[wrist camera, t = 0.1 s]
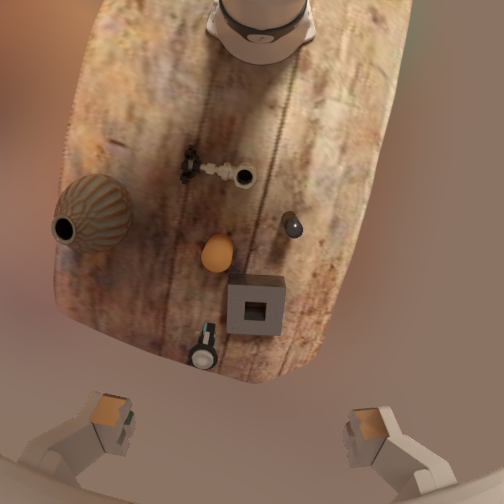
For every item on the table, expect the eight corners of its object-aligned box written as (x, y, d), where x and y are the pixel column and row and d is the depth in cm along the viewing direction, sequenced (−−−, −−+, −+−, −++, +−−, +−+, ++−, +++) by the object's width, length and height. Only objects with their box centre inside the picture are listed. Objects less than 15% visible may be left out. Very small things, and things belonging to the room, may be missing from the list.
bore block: (229, 273, 60) (227, 284, 56) (283, 276, 61) (286, 287, 56) (228, 319, 64) (226, 333, 59) (278, 322, 64) (280, 335, 59)
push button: (220, 349, 66) (215, 379, 57) (195, 345, 66) (187, 375, 56) (222, 322, 64) (217, 352, 54) (196, 319, 64) (187, 347, 54)
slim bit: (282, 210, 57) (287, 221, 49) (297, 211, 57) (303, 222, 49) (281, 225, 57) (285, 237, 50) (295, 226, 57) (302, 238, 50)
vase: (87, 164, 54) (33, 176, 37) (148, 178, 55) (108, 194, 38) (78, 229, 58) (28, 260, 41) (136, 246, 59) (98, 284, 42)
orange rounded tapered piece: (206, 232, 58) (201, 242, 52) (234, 234, 58) (232, 244, 52) (206, 259, 60) (201, 271, 54) (233, 260, 60) (231, 273, 54)
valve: (261, 157, 54) (193, 144, 53) (262, 159, 48) (185, 144, 47) (253, 194, 56) (186, 181, 55) (253, 201, 50) (177, 186, 49)
